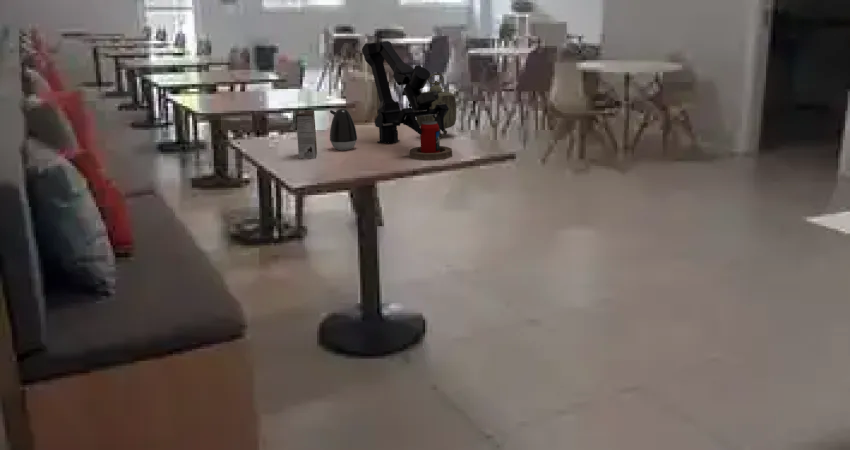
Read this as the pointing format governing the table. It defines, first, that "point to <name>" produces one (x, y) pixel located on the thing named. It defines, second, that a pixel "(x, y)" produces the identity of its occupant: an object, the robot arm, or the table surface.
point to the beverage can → (430, 137)
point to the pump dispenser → (342, 130)
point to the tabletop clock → (444, 99)
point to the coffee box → (306, 134)
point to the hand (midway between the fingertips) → (432, 132)
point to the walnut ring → (431, 154)
